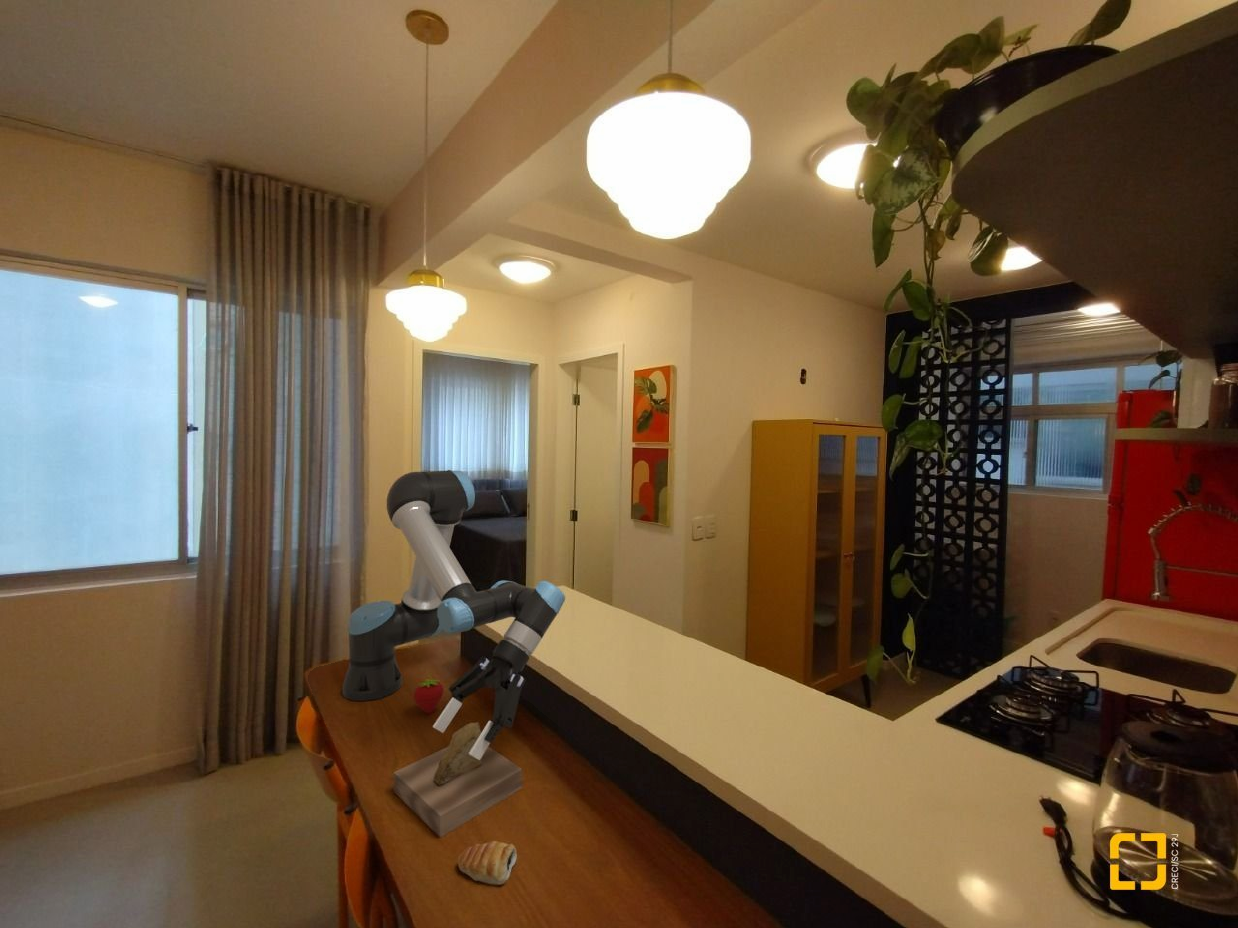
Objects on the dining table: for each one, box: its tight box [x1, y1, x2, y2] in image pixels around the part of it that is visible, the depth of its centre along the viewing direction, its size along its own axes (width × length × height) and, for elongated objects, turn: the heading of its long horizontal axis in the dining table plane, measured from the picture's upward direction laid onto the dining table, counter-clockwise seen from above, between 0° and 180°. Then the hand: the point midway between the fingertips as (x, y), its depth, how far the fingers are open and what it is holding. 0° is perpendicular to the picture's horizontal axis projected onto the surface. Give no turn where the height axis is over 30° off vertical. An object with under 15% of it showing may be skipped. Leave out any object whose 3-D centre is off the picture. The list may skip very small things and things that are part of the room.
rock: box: [434, 721, 482, 785], centre depth 106 cm, size 11×9×10 cm
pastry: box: [456, 840, 518, 886], centre depth 87 cm, size 9×7×4 cm
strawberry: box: [413, 673, 445, 714], centre depth 135 cm, size 6×8×10 cm
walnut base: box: [393, 745, 523, 839], centre depth 106 cm, size 18×18×4 cm
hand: (455, 742), depth 105 cm, fingers open, 13 cm apart
